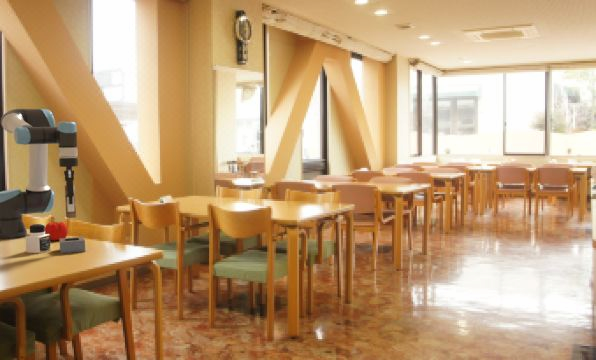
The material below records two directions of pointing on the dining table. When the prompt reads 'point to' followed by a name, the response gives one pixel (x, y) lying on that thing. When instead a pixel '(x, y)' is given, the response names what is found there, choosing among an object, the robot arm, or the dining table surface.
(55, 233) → the red bell pepper
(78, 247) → the socket
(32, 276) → the dining table surface
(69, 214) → the peg
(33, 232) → the medicine bottle
